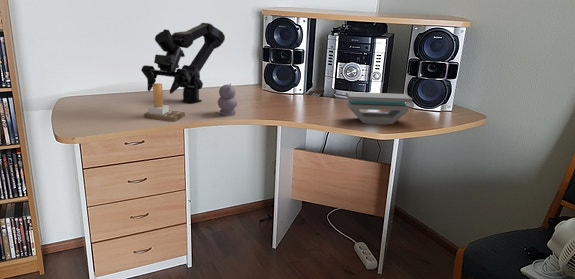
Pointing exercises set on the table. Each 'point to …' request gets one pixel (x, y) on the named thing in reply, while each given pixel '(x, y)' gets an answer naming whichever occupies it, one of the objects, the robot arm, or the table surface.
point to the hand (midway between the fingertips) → (159, 91)
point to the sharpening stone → (378, 106)
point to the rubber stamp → (158, 101)
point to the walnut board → (166, 116)
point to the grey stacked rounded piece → (227, 100)
